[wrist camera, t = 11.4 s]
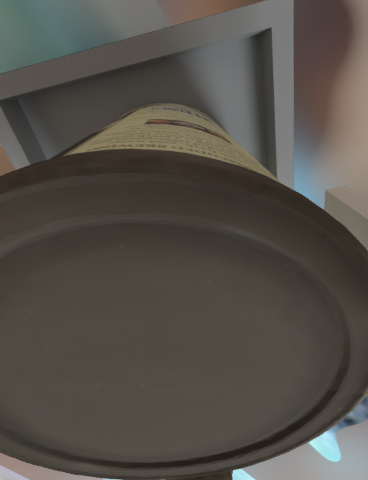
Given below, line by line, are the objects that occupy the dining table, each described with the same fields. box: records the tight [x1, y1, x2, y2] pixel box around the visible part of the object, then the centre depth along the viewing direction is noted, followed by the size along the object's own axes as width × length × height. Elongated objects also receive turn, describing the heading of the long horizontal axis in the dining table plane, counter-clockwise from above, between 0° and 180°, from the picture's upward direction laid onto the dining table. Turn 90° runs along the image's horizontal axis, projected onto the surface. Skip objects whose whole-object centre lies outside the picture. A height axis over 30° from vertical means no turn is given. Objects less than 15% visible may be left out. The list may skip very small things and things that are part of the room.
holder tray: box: [0, 0, 294, 190], centre depth 17 cm, size 16×16×3 cm
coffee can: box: [0, 103, 368, 480], centre depth 12 cm, size 10×10×14 cm
